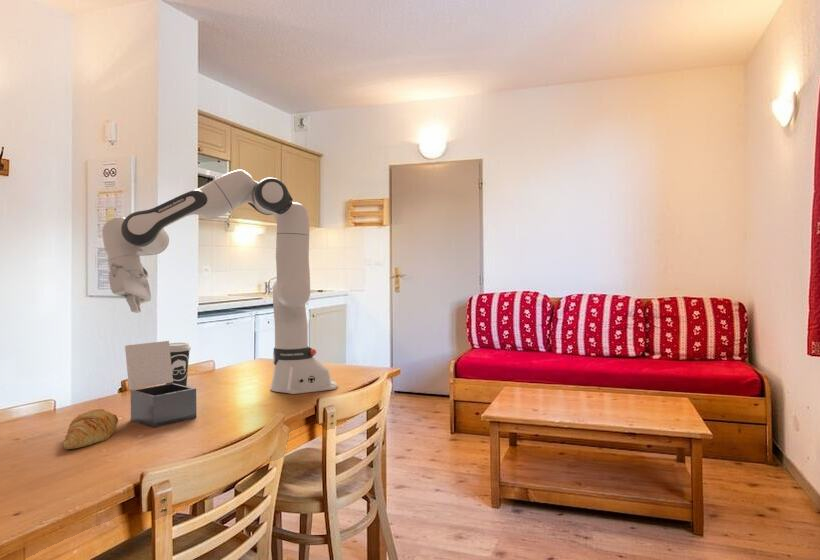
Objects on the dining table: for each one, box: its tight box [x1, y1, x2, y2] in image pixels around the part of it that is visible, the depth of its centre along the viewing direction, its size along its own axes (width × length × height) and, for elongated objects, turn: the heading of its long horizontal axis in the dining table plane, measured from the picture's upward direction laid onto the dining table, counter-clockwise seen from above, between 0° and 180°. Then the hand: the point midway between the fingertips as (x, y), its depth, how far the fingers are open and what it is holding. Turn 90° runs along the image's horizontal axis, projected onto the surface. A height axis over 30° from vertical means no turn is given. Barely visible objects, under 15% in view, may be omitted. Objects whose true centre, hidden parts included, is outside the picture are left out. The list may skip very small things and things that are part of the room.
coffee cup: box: [165, 342, 192, 386], centre depth 185 cm, size 10×10×15 cm
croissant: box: [63, 409, 119, 450], centre depth 128 cm, size 21×10×8 cm, turn 4°
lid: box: [124, 340, 173, 391], centre depth 149 cm, size 12×12×2 cm
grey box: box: [130, 383, 197, 428], centre depth 145 cm, size 12×12×8 cm
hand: (136, 311), depth 160 cm, fingers closed
